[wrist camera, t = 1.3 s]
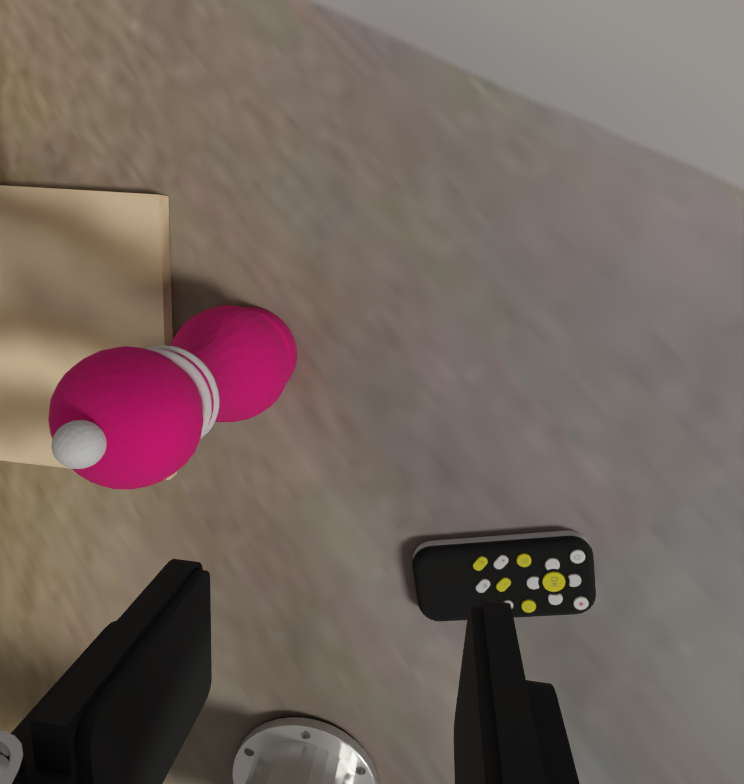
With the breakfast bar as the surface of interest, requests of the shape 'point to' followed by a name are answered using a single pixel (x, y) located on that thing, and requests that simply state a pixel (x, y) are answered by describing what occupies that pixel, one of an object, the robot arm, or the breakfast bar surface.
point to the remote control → (505, 574)
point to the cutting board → (73, 296)
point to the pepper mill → (167, 395)
